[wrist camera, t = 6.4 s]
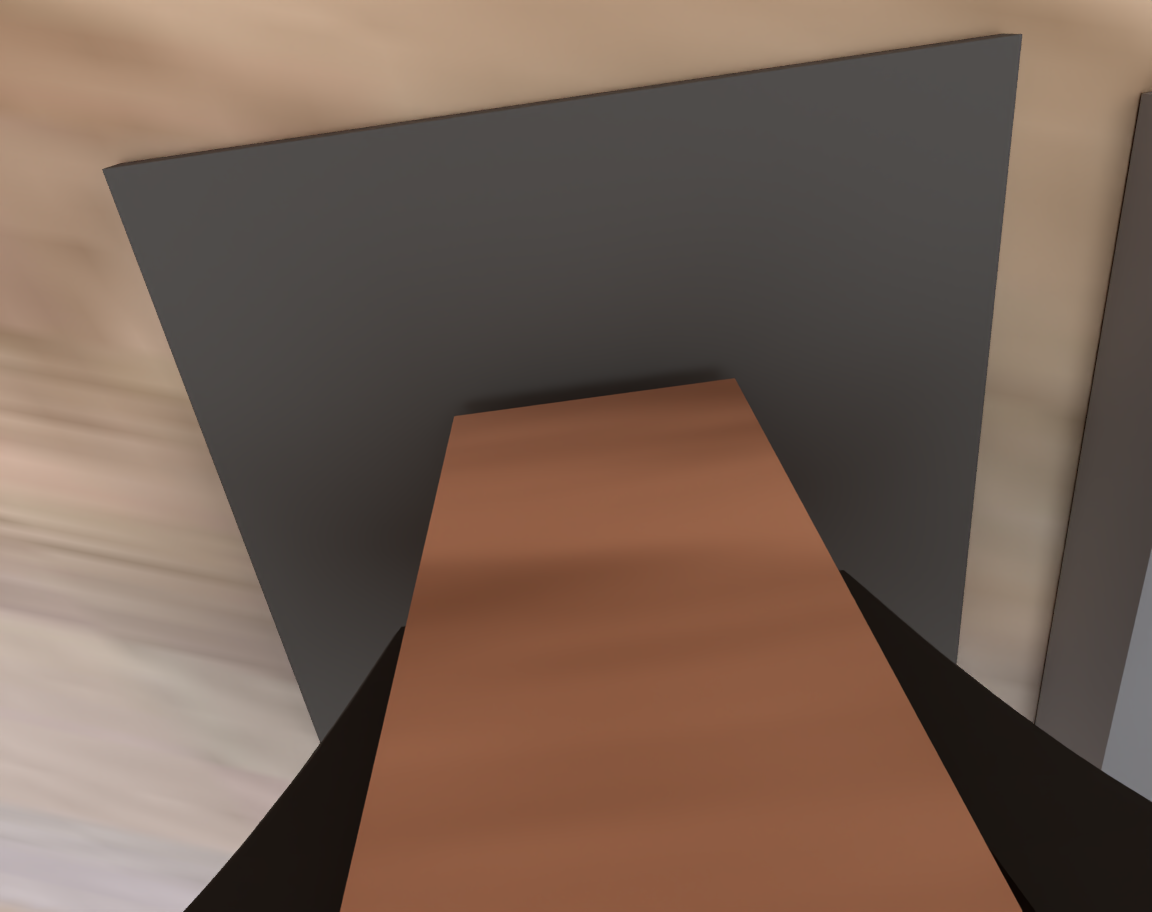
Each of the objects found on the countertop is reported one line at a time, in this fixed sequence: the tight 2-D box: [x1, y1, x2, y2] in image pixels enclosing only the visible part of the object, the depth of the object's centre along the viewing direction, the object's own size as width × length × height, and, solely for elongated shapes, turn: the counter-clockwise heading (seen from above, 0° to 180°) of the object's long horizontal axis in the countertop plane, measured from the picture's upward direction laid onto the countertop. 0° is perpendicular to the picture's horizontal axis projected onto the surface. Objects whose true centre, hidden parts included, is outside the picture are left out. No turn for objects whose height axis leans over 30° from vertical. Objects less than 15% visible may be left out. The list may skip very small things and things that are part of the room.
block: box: [340, 378, 1023, 912], centre depth 9 cm, size 4×4×8 cm
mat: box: [102, 34, 1022, 743], centre depth 14 cm, size 12×12×1 cm
